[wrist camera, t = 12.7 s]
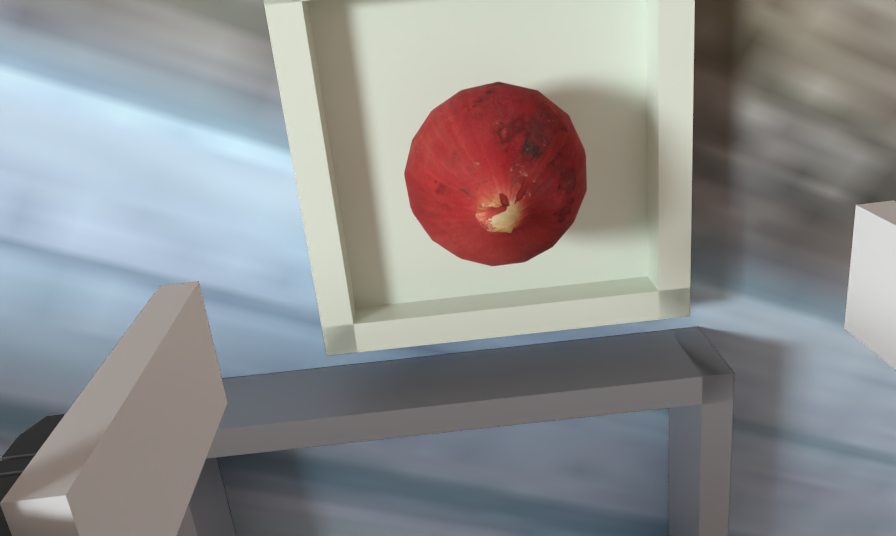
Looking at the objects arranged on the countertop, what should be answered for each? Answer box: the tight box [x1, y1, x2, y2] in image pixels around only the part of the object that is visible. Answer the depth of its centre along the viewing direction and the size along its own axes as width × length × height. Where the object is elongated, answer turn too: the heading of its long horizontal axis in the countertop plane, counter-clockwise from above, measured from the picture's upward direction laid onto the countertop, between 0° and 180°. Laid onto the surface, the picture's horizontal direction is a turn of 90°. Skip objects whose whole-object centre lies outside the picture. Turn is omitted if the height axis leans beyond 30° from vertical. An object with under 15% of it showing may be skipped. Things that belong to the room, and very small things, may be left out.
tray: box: [264, 0, 695, 356], centre depth 28 cm, size 14×14×2 cm
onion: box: [404, 82, 587, 266], centre depth 25 cm, size 6×6×8 cm
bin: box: [176, 327, 734, 536], centre depth 34 cm, size 22×14×4 cm, turn 96°
